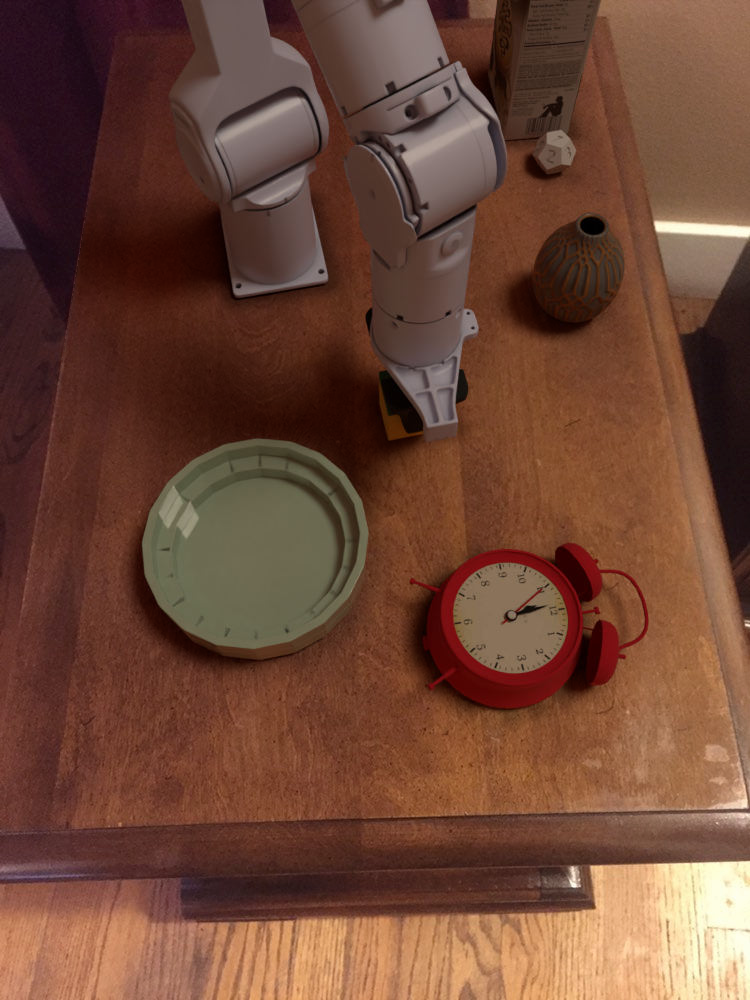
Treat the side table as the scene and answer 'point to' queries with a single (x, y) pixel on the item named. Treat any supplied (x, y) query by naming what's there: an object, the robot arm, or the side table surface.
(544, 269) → the vase
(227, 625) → the bowl
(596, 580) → the alarm clock
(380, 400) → the sponge
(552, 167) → the game die
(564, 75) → the coffee box
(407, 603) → the side table surface
